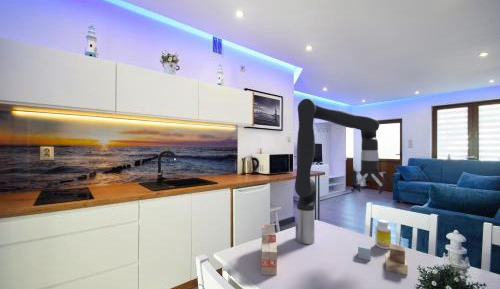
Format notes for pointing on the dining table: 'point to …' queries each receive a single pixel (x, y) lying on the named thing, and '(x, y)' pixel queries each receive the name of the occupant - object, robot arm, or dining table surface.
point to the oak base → (396, 265)
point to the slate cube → (364, 251)
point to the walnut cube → (397, 253)
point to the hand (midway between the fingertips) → (369, 192)
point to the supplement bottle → (383, 234)
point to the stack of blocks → (269, 250)
